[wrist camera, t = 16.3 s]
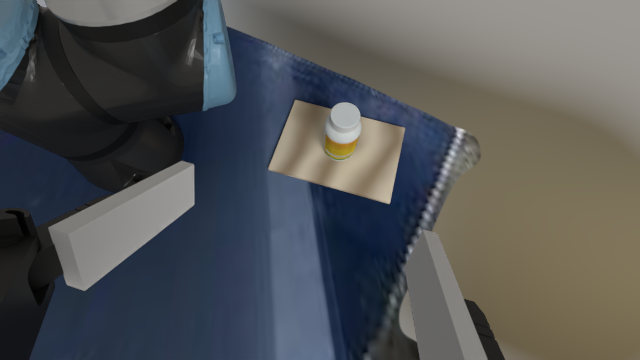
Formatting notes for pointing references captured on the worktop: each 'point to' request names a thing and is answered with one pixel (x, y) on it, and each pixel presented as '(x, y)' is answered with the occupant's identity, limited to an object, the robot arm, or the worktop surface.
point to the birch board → (349, 175)
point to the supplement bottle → (341, 131)
